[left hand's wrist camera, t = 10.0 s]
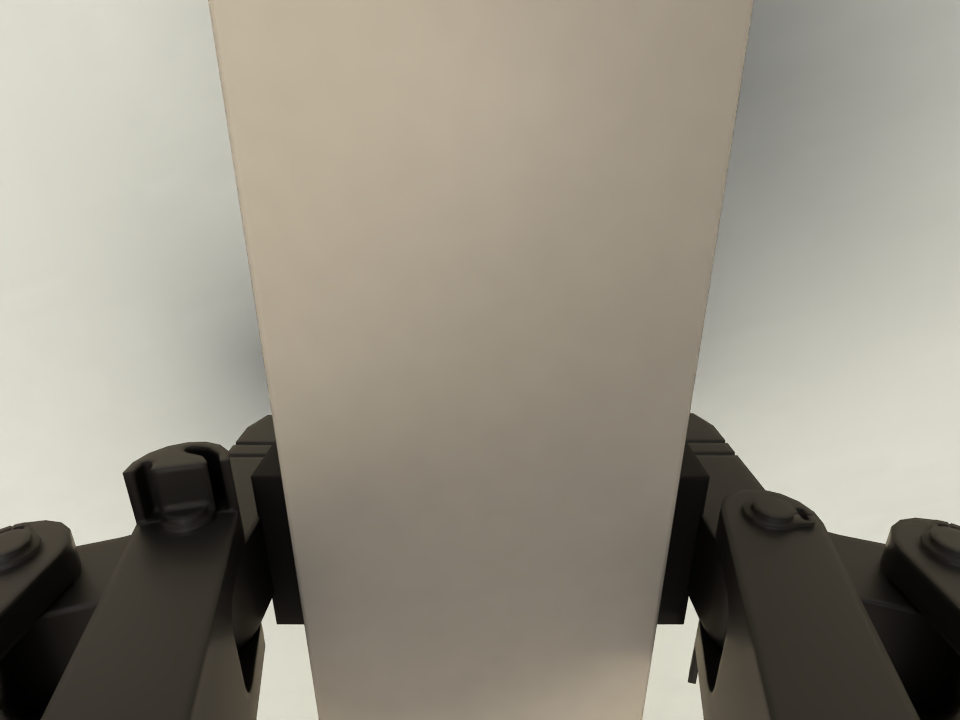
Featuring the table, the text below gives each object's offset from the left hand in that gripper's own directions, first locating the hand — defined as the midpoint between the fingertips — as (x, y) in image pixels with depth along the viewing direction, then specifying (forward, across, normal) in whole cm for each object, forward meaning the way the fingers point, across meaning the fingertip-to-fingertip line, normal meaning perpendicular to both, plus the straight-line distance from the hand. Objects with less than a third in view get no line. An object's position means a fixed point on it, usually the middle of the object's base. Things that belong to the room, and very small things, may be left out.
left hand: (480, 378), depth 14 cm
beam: (+1, 0, -23) cm, 23 cm away
